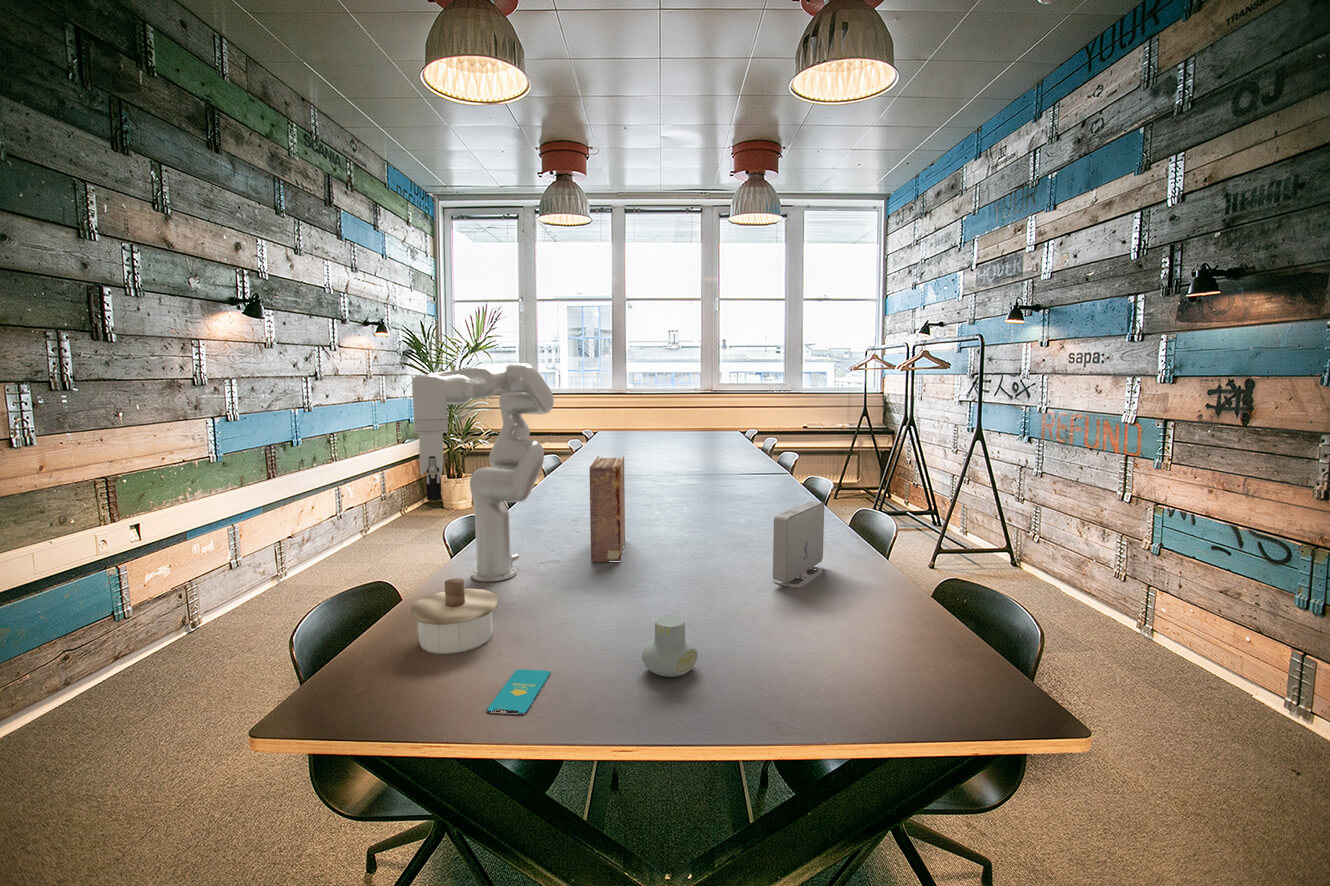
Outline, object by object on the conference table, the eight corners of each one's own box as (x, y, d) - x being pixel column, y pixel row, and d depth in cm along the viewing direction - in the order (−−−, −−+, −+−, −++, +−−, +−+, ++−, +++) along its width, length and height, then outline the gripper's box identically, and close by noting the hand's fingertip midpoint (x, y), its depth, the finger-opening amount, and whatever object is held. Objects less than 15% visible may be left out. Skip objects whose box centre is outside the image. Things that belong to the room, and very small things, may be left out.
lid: (450, 588, 142) (449, 564, 141) (514, 598, 136) (513, 573, 135) (391, 617, 125) (390, 590, 125) (461, 630, 119) (460, 601, 118)
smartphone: (552, 670, 116) (525, 712, 101) (552, 674, 116) (526, 717, 101) (516, 668, 117) (484, 711, 102) (516, 672, 117) (485, 715, 102)
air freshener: (671, 653, 124) (671, 607, 123) (703, 665, 119) (703, 617, 117) (635, 674, 115) (635, 624, 114) (668, 688, 110) (668, 636, 109)
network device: (792, 592, 158) (794, 519, 156) (763, 585, 164) (764, 514, 161) (829, 567, 178) (831, 502, 176) (802, 562, 184) (804, 498, 182)
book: (599, 540, 209) (597, 456, 205) (625, 540, 209) (624, 455, 206) (590, 563, 184) (589, 467, 180) (620, 563, 184) (619, 467, 180)
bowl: (452, 620, 141) (450, 591, 140) (505, 629, 136) (504, 600, 135) (404, 647, 127) (402, 615, 126) (461, 658, 122) (460, 626, 121)
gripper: (415, 424, 150) (419, 490, 152) (412, 430, 134) (416, 504, 136) (447, 423, 153) (450, 488, 155) (448, 429, 137) (451, 501, 139)
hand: (434, 496), depth 146 cm, fingers open, 9 cm apart
